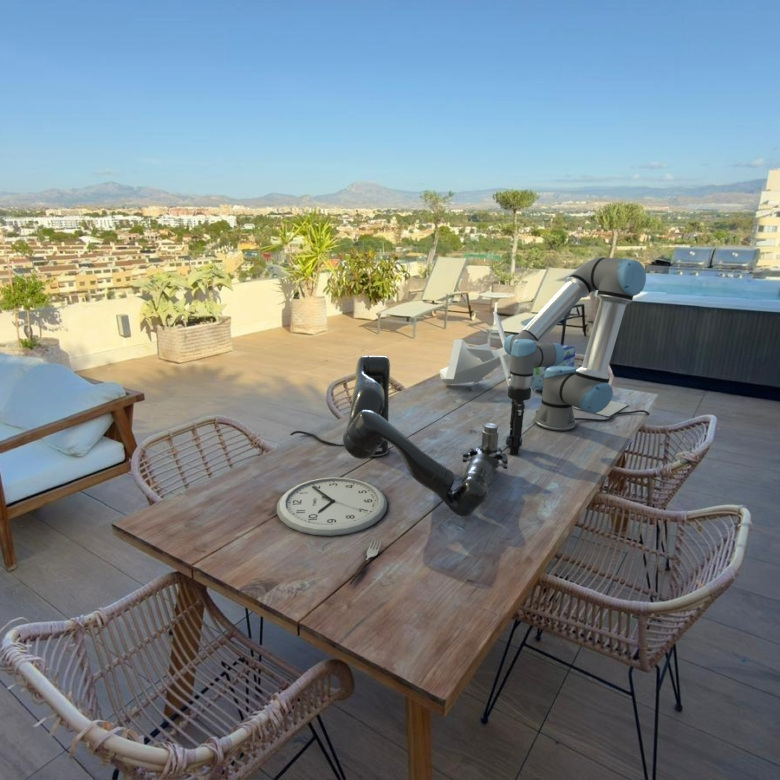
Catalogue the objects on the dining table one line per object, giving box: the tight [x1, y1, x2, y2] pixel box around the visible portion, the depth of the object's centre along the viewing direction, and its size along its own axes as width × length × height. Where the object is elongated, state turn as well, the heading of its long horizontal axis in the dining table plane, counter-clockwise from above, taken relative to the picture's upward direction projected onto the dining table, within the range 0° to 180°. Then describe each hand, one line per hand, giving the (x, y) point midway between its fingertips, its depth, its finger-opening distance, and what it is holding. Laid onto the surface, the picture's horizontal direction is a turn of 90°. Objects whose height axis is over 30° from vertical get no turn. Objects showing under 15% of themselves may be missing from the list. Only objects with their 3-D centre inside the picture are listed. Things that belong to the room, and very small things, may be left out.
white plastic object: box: [438, 310, 511, 386], centre depth 245 cm, size 37×45×31 cm
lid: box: [505, 435, 523, 448], centre depth 179 cm, size 5×5×2 cm
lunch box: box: [530, 344, 576, 392], centre depth 248 cm, size 26×11×21 cm, turn 134°
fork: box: [349, 538, 383, 585], centre depth 117 cm, size 3×16×2 cm, turn 160°
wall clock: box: [276, 476, 388, 537], centre depth 142 cm, size 30×2×30 cm
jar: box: [481, 422, 499, 474], centre depth 162 cm, size 5×5×15 cm
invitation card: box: [573, 400, 629, 418], centre depth 226 cm, size 21×1×15 cm
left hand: (490, 449), depth 165 cm, fingers closed on jar, 5 cm apart
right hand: (513, 450), depth 180 cm, fingers closed on lid, 5 cm apart
